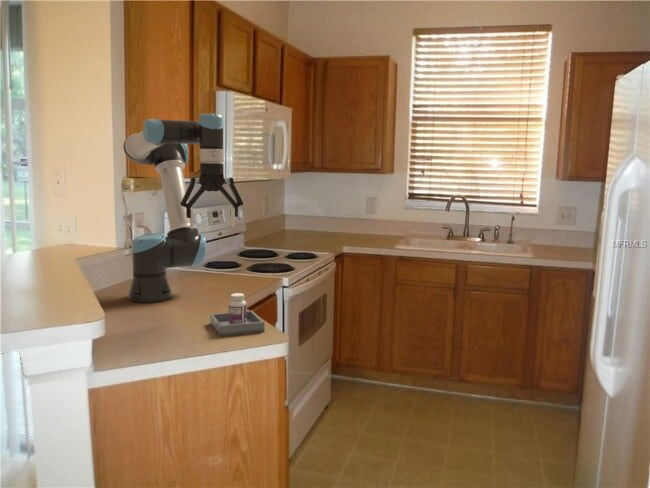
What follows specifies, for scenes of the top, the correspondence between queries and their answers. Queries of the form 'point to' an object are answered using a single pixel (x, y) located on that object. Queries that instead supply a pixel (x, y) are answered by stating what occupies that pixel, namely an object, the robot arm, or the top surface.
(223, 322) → the bin
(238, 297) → the pill bottle
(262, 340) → the top surface
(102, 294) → the top surface
